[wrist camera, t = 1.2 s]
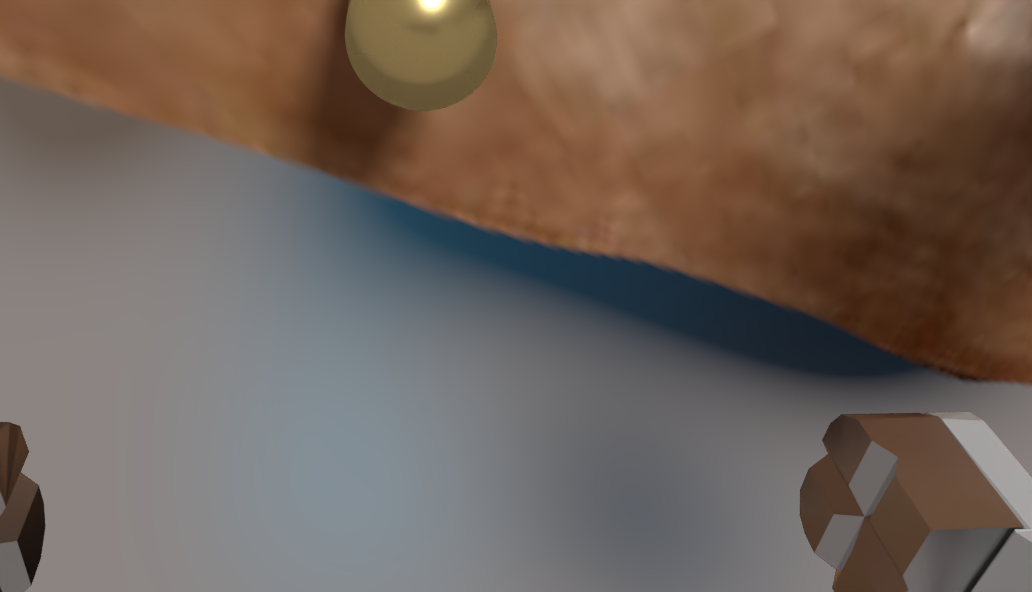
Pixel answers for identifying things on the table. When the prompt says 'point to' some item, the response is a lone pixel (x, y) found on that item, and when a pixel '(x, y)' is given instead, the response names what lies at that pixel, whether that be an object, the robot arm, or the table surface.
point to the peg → (421, 49)
